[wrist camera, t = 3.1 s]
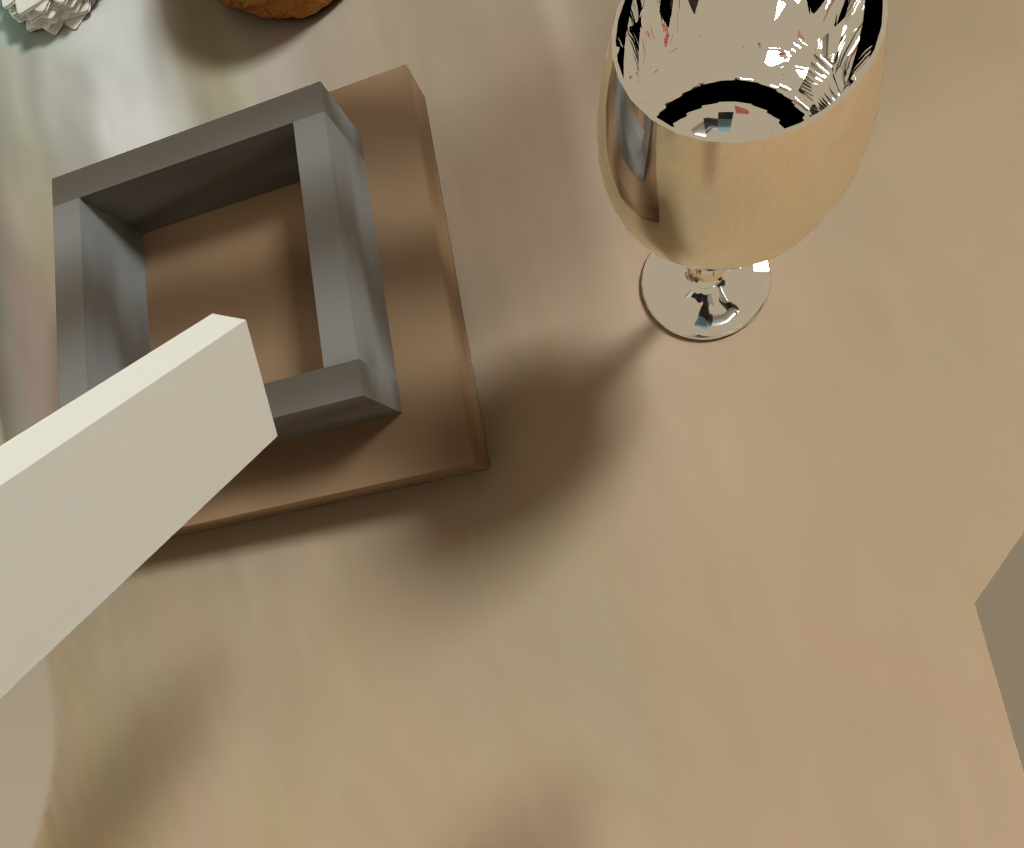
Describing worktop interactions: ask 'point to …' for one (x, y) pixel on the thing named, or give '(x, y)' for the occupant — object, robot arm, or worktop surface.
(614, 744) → the worktop surface
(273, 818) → the worktop surface
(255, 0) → the burger
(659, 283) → the wineglass
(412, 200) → the socket base
